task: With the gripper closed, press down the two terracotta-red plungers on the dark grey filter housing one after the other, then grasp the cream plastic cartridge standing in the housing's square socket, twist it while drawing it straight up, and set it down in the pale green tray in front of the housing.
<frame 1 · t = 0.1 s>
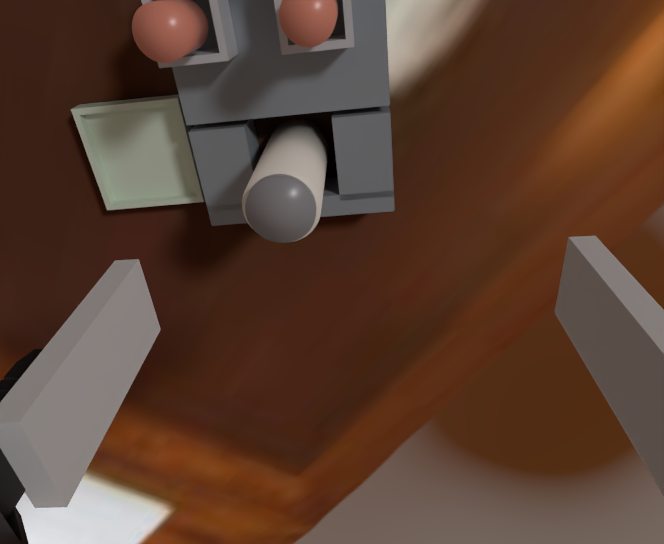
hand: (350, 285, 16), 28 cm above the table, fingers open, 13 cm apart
plunger a: (172, 28, 29), point 9 cm above the table, slide at 0.0 cm
plunger b: (310, 12, 28), point 9 cm above the table, slide at 0.0 cm
tray: (146, 151, 42), on the table
housing: (290, 93, 40), on the table
cartridge: (298, 149, 42), resting in housing
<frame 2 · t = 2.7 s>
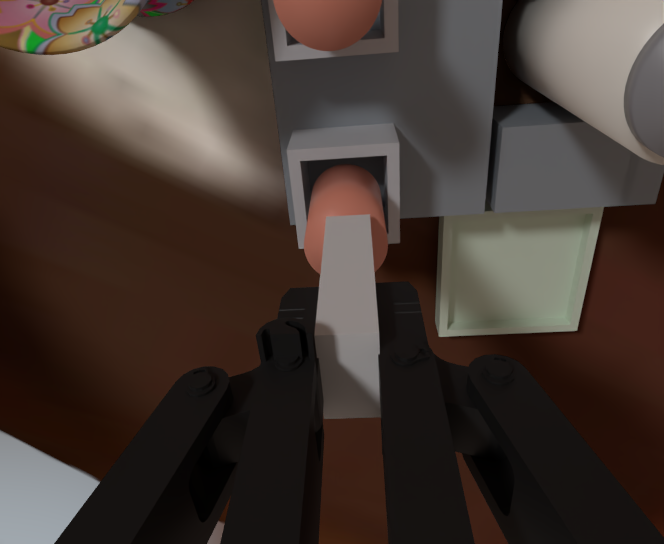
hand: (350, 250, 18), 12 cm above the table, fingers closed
plunger a: (345, 219, 20), point 9 cm above the table, slide at 0.4 cm, touching gripper
tray: (507, 262, 31), on the table
housing: (461, 41, 25), on the table
cartridge: (555, 33, 25), resting in housing
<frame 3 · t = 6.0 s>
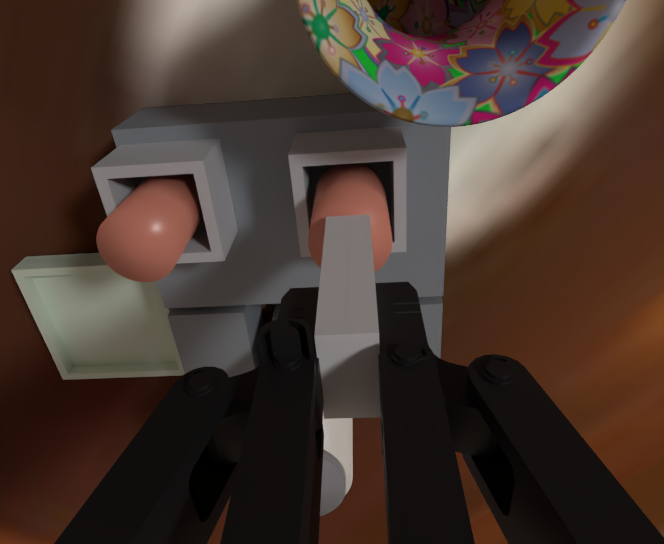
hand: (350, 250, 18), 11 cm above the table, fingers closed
plunger a: (156, 222, 21), point 8 cm above the table, slide at 1.9 cm
plunger b: (350, 216, 20), point 8 cm above the table, slide at 1.4 cm, touching gripper
tray: (115, 310, 33), on the table
housing: (305, 253, 30), on the table
cartridge: (313, 314, 32), resting in housing
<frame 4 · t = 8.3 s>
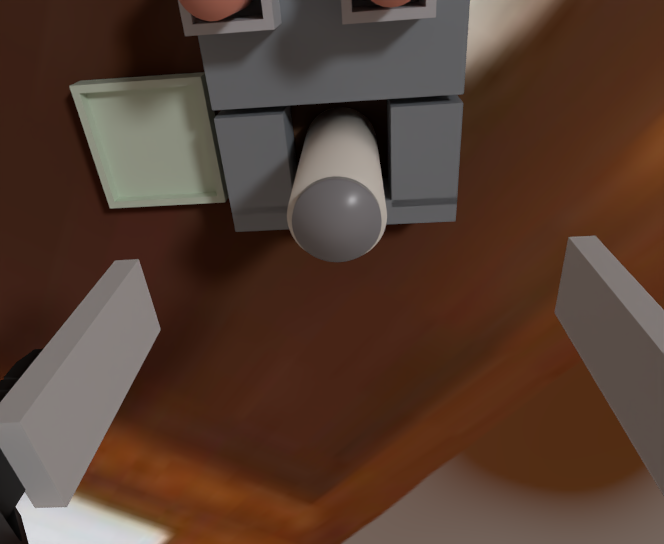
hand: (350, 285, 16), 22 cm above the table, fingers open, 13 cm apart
tray: (159, 140, 36), on the table
housing: (336, 75, 33), on the table
cartridge: (340, 143, 35), resting in housing
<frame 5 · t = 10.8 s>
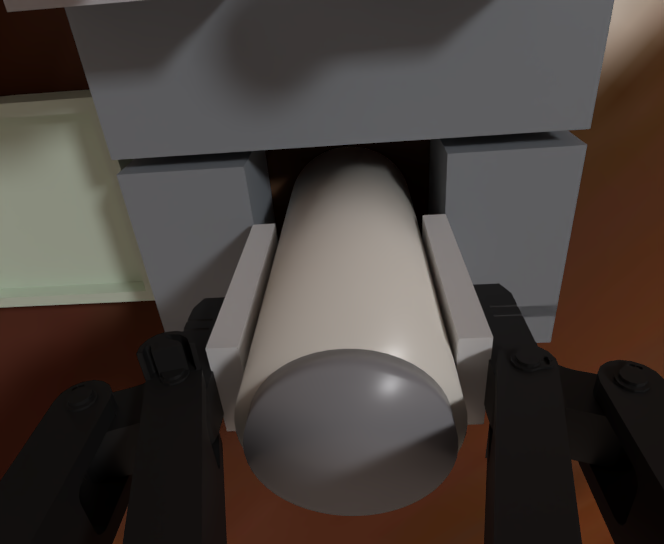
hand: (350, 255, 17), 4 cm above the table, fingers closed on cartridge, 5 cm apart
tray: (48, 200, 21), on the table
housing: (343, 93, 19), on the table
cartridge: (350, 205, 21), resting in housing, touching gripper
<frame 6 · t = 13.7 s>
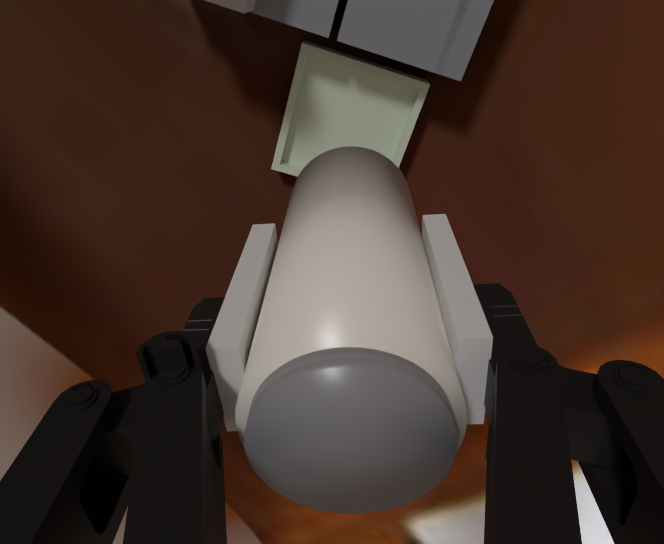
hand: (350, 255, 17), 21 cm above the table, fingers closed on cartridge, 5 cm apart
tray: (347, 122, 36), on the table
cartridge: (350, 204, 21), point 16 cm above the table, touching gripper
when the fingers open (6 cm above the table, at t = 16.8 s): cartridge stays where it is, resting on tray.
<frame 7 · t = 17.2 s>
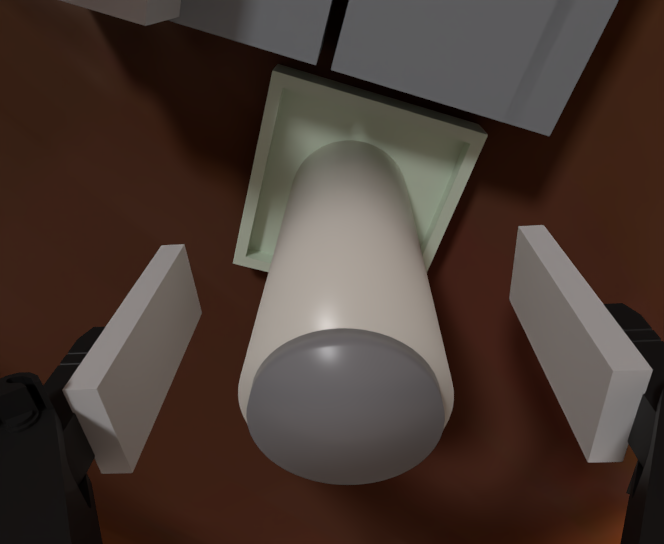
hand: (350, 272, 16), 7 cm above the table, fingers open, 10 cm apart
tray: (350, 190, 23), on the table
cartridge: (348, 196, 22), point 1 cm above the table, touching tray
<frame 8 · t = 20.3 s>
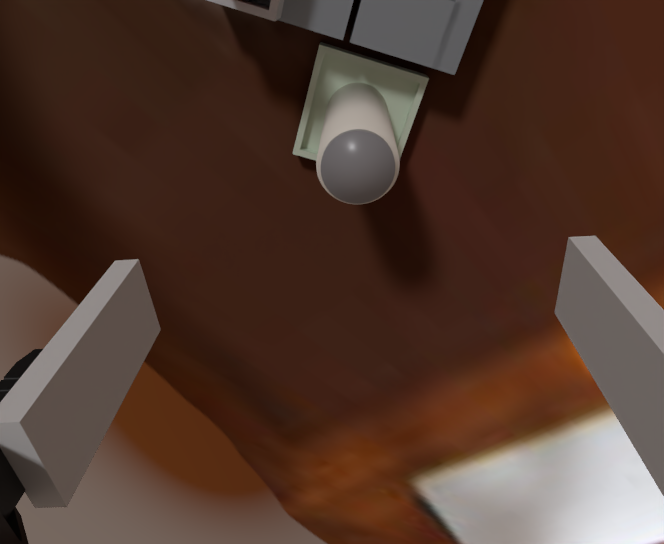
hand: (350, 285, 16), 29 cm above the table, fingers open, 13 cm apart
tray: (357, 112, 41), on the table
cartridge: (356, 115, 40), point 1 cm above the table, touching tray
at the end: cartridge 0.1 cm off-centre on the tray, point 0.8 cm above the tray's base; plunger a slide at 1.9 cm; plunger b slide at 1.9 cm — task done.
